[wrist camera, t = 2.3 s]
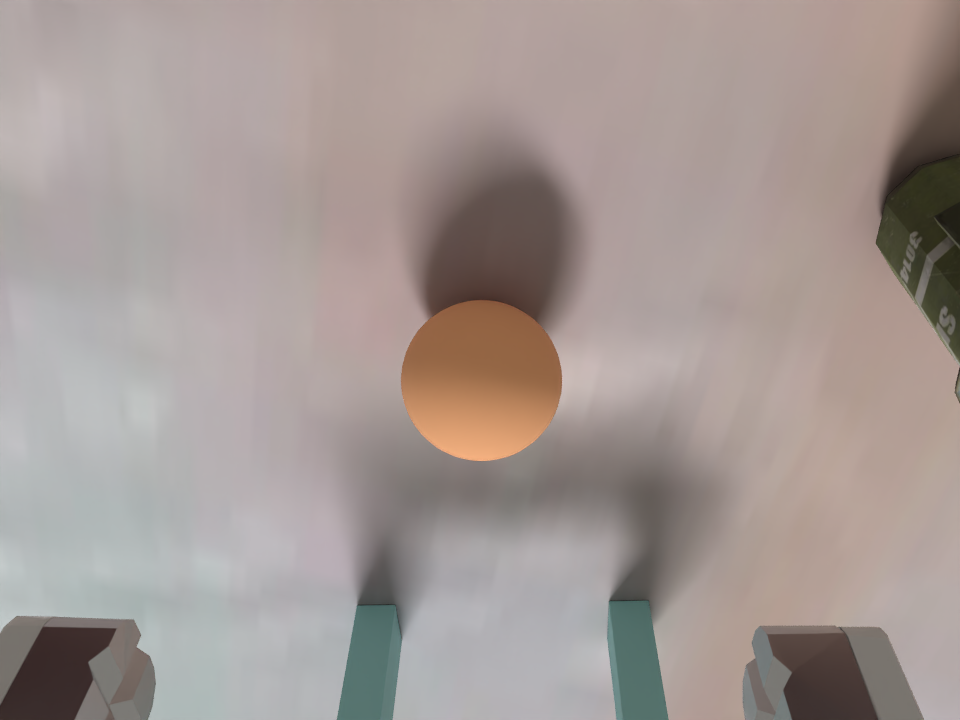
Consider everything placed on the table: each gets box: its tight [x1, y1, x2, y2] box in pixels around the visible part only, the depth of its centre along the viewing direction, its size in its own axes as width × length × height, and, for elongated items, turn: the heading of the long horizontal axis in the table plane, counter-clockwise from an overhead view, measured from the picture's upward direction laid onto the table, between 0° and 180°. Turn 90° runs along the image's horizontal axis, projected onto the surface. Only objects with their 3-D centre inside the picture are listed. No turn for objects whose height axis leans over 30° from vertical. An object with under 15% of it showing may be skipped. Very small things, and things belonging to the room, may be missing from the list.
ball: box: [401, 300, 562, 461], centre depth 32 cm, size 6×6×6 cm
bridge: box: [337, 601, 669, 720], centre depth 41 cm, size 3×15×10 cm, turn 93°
